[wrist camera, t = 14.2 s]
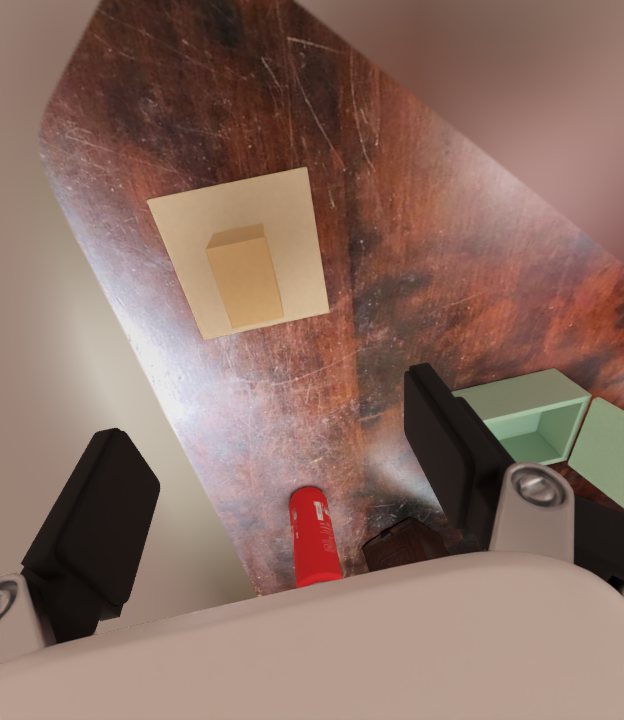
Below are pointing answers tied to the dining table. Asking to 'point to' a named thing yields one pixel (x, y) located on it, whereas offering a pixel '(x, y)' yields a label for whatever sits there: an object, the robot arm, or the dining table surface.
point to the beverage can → (313, 538)
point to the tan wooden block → (245, 275)
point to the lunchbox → (531, 414)
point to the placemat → (237, 210)
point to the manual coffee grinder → (404, 546)
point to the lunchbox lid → (602, 449)
